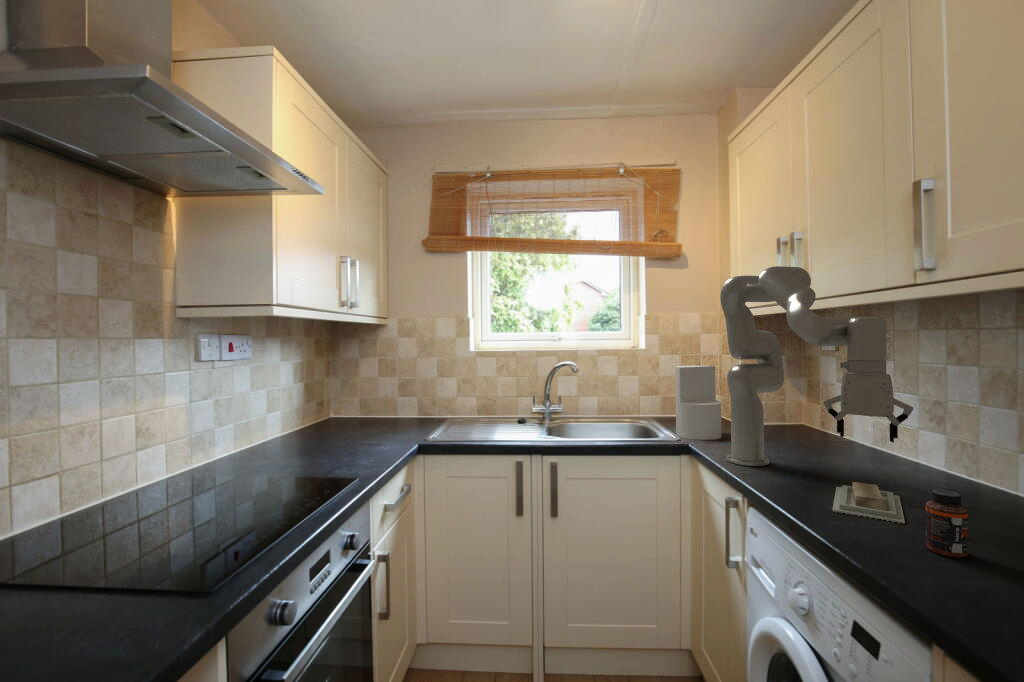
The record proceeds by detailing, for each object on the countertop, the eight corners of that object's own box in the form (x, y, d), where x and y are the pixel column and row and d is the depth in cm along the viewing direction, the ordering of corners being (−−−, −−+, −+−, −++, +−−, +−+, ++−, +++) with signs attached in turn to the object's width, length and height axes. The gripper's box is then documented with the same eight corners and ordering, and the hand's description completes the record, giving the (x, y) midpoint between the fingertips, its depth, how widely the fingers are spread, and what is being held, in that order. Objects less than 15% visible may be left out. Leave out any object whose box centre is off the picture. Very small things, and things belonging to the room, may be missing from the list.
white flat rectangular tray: (836, 488, 127) (836, 482, 127) (899, 497, 119) (899, 491, 119) (832, 511, 111) (832, 505, 110) (904, 524, 103) (904, 517, 103)
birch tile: (855, 508, 111) (855, 495, 111) (852, 493, 121) (852, 481, 121) (882, 512, 108) (882, 499, 108) (877, 496, 118) (877, 484, 118)
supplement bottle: (970, 562, 86) (970, 500, 86) (927, 553, 89) (926, 493, 89) (965, 550, 90) (965, 491, 90) (924, 542, 94) (924, 485, 94)
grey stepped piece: (667, 432, 200) (666, 366, 199) (701, 429, 205) (701, 364, 204) (694, 441, 183) (694, 369, 183) (731, 437, 188) (730, 367, 188)
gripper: (822, 367, 116) (822, 437, 117) (914, 370, 106) (914, 446, 106) (824, 365, 122) (824, 431, 123) (912, 368, 112) (911, 440, 112)
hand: (866, 438), depth 115 cm, fingers open, 9 cm apart
